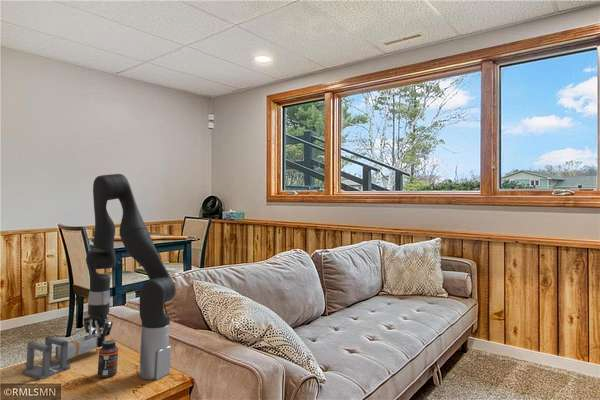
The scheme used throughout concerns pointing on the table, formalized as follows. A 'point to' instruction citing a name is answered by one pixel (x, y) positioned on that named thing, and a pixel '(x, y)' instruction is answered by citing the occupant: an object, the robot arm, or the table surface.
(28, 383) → the table surface
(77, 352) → the grey rectangular bar
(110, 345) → the supplement bottle
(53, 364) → the collar stand
